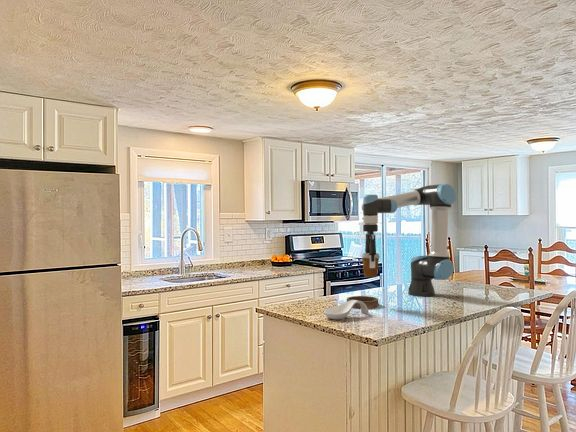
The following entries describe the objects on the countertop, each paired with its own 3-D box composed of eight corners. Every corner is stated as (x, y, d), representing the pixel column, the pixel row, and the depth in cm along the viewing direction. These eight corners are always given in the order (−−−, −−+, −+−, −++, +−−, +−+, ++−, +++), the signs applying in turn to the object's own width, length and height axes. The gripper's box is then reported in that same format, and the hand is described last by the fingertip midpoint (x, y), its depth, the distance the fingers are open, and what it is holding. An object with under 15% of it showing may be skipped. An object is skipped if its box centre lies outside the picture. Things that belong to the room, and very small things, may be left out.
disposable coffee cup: (380, 277, 224) (379, 254, 224) (361, 277, 225) (361, 254, 226) (379, 275, 233) (379, 253, 233) (361, 275, 235) (361, 252, 235)
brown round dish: (358, 301, 241) (358, 294, 241) (385, 305, 229) (385, 298, 229) (339, 305, 230) (339, 298, 230) (366, 310, 217) (366, 303, 217)
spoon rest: (335, 323, 193) (335, 306, 193) (318, 318, 203) (318, 302, 203) (373, 315, 206) (373, 300, 206) (356, 311, 216) (356, 297, 216)
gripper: (359, 223, 240) (359, 264, 240) (367, 224, 218) (367, 269, 218) (373, 223, 241) (373, 264, 240) (382, 224, 218) (382, 269, 218)
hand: (370, 266), depth 229 cm, fingers closed on disposable coffee cup, 9 cm apart
